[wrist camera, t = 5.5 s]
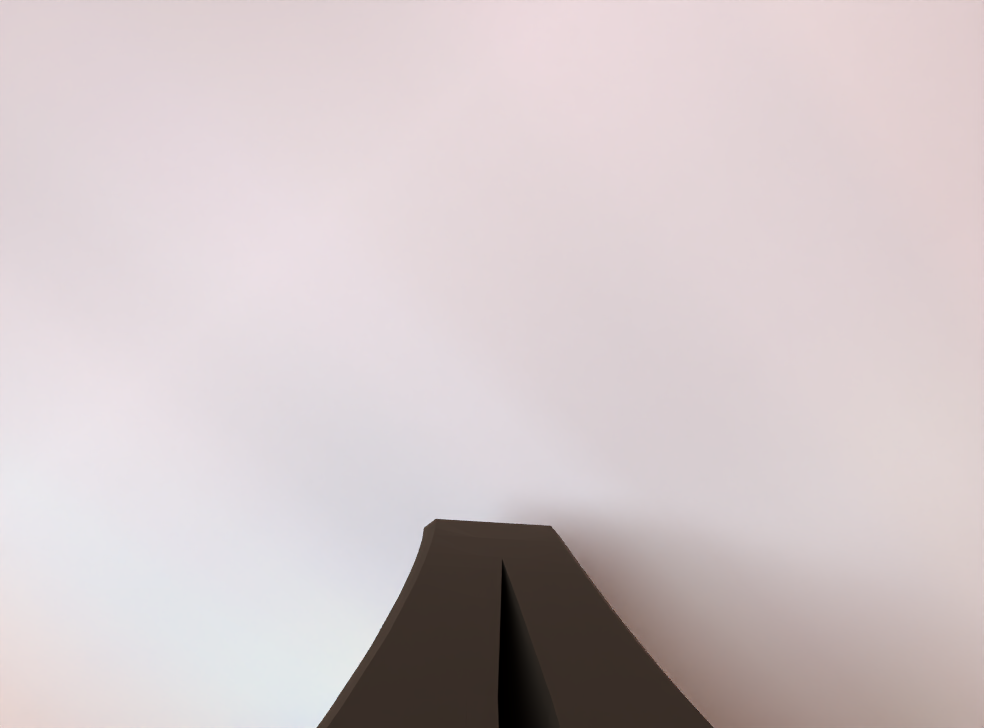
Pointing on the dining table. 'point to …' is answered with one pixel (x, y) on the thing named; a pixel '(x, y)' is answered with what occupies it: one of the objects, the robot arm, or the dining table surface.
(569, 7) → the dining table surface
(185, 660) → the dining table surface
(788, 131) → the dining table surface
